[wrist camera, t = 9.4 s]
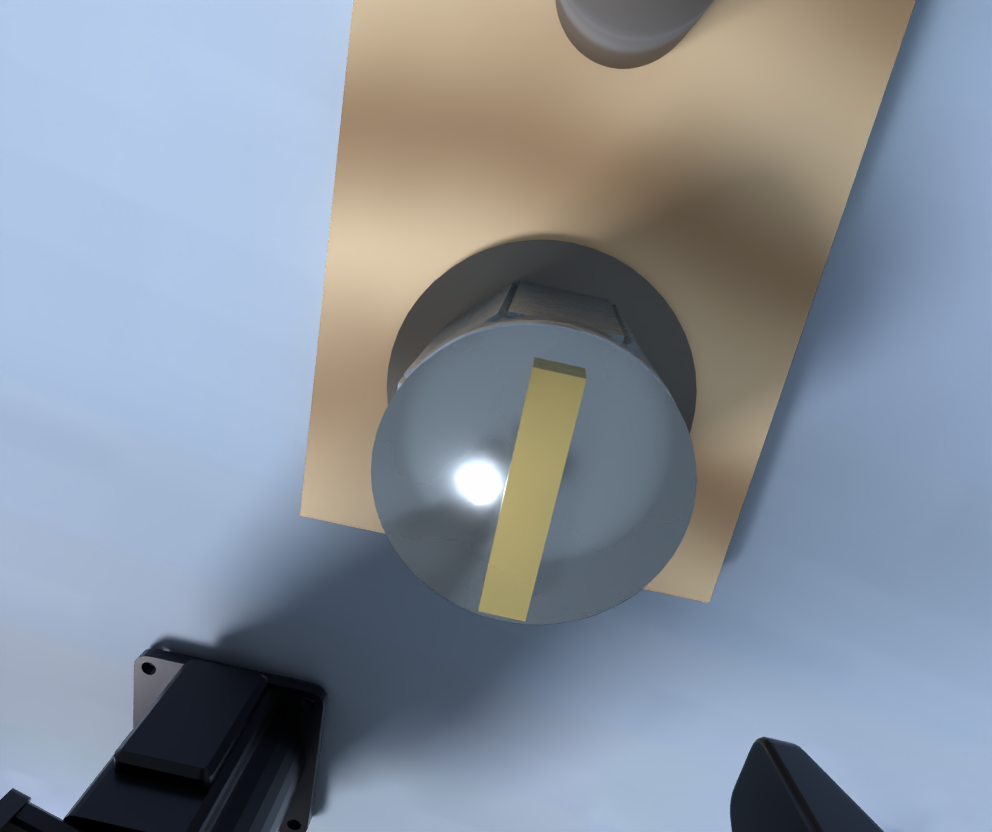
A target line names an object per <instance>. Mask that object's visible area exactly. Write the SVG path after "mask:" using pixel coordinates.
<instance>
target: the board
mask: <svg viewBox="0 0 992 832" xmlns="http://www.w3.org/2000/svg"><path fill="white" fill-rule="evenodd" d="M915 2H916V0H353V9H352V19H351V28H350V38H349V48H348V57H347V67H346V77H345V86H344V96H343V106H342V115H341V125H340V135H339V144H338V154H337V164H336V173H335V183H334V193H333V202H332V212H331V222H330V231H329V241H328V251H327V260H326V270H325V280H324V289H323V299H322V308H321V318H320V328H319V337H318V347H317V357H316V366H315V376H314V386H313V395H312V405H311V415H310V424H309V434H308V444H307V453H306V463H305V473H304V482H303V492H302V502H301V511H300V516H304V517H309V518H313V519H318V520H323V521H327V522H332V523H337V524H341V525H346V526H351V527H355V528H360V529H365V530H370V531H374V532H379V533H384V534H386V533H385V532H384V530H383V528H382V525H381V522H380V519H379V516H378V514H377V511H376V507H375V502H374V498H373V493H372V483H371V461H372V450H373V446H374V441H375V437H376V432H377V430H378V427H379V424H380V422H381V419H382V416H383V414H384V412H385V410H386V408H387V406H388V405H389V403H390V401H391V399H392V397H393V396H394V394H395V393H396V392H397V388H398V382H399V381H400V379H401V378H402V377H403V376H404V375H403V374H404V373H405V372H406V371H407V369H408V368H409V367H410V366H411V365H412V363H413V362H414V361H415V360H416V359H417V358H418V356H419V355H420V354H421V353H422V352H423V350H424V349H425V348H426V347H427V346H428V344H429V343H430V342H431V341H432V340H433V338H434V337H435V336H436V335H437V334H438V332H439V331H440V330H441V329H442V328H444V327H446V326H447V325H449V324H450V323H452V322H453V321H455V320H456V319H458V318H459V317H461V316H462V315H464V314H465V313H467V312H468V311H470V310H471V309H473V308H474V307H476V306H477V305H479V304H480V303H482V302H483V301H485V300H486V299H488V298H489V297H491V296H493V295H494V294H496V293H497V292H499V291H500V290H502V289H503V288H505V287H506V286H508V285H509V284H511V283H512V282H514V284H515V285H516V287H517V288H518V286H519V283H520V281H521V280H522V281H526V282H531V283H535V284H540V285H545V286H549V287H554V288H559V289H563V290H568V291H573V292H577V293H582V294H587V295H591V296H596V297H601V298H605V299H609V301H610V304H611V306H612V305H613V304H615V305H616V306H617V308H618V310H619V311H620V313H621V315H622V316H623V318H624V319H625V321H626V323H627V324H628V326H629V328H630V329H631V331H632V333H633V334H634V336H635V337H636V339H637V341H638V342H639V344H640V346H641V347H642V349H643V350H644V352H645V354H646V355H647V357H648V359H649V360H650V362H651V364H652V365H653V367H654V368H655V370H656V372H657V373H658V375H659V377H660V378H661V380H662V381H663V383H664V384H665V385H666V387H667V388H668V390H669V392H670V394H671V396H672V398H673V400H674V402H675V403H676V405H677V407H678V409H679V411H680V413H681V415H682V417H683V419H684V421H685V423H686V426H687V429H688V431H689V434H690V436H691V440H692V443H693V449H694V454H695V459H696V471H697V487H696V497H695V504H694V508H693V512H692V516H691V520H690V523H689V525H688V528H687V530H686V533H685V535H684V538H683V540H682V542H681V543H680V545H679V547H678V548H677V550H676V552H675V554H674V555H673V557H672V558H671V559H670V561H669V562H668V563H667V565H666V566H665V567H664V568H663V570H662V571H661V572H660V573H659V574H658V575H657V576H656V577H655V578H654V579H653V580H652V581H651V582H650V583H649V584H648V585H647V586H645V587H644V588H643V589H646V590H651V591H655V592H660V593H665V594H669V595H674V596H679V597H683V598H688V599H693V600H697V601H702V602H707V603H709V602H710V599H711V596H712V593H713V590H714V587H715V584H716V581H717V578H718V576H719V573H720V570H721V567H722V564H723V561H724V558H725V555H726V552H727V549H728V546H729V544H730V541H731V538H732V535H733V532H734V529H735V526H736V523H737V520H738V517H739V514H740V511H741V509H742V506H743V503H744V500H745V497H746V494H747V491H748V488H749V485H750V482H751V479H752V477H753V474H754V471H755V468H756V465H757V462H758V459H759V456H760V453H761V450H762V447H763V445H764V442H765V439H766V436H767V433H768V430H769V427H770V424H771V421H772V418H773V415H774V412H775V410H776V407H777V404H778V401H779V398H780V395H781V392H782V389H783V386H784V383H785V380H786V378H787V375H788V372H789V369H790V366H791V363H792V360H793V357H794V354H795V351H796V348H797V346H798V343H799V340H800V337H801V334H802V331H803V328H804V325H805V322H806V319H807V316H808V313H809V311H810V308H811V305H812V302H813V299H814V296H815V293H816V290H817V287H818V284H819V281H820V279H821V276H822V273H823V270H824V267H825V264H826V261H827V258H828V255H829V252H830V249H831V247H832V244H833V241H834V238H835V235H836V232H837V229H838V226H839V223H840V220H841V217H842V214H843V212H844V209H845V206H846V203H847V200H848V197H849V194H850V191H851V188H852V185H853V182H854V180H855V177H856V174H857V171H858V168H859V165H860V162H861V159H862V156H863V153H864V150H865V148H866V145H867V142H868V139H869V136H870V133H871V130H872V127H873V124H874V121H875V118H876V115H877V113H878V110H879V107H880V104H881V101H882V98H883V95H884V92H885V89H886V86H887V83H888V81H889V78H890V75H891V72H892V69H893V66H894V63H895V60H896V57H897V54H898V51H899V49H900V46H901V43H902V40H903V37H904V34H905V31H906V28H907V25H908V22H909V19H910V16H911V14H912V11H913V8H914V5H915Z"/></svg>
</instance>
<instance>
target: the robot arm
mask: <svg viewBox="0 0 992 832" xmlns="http://www.w3.org/2000/svg"><path fill="white" fill-rule="evenodd" d="M150 663H151V664H153V665H154V666H155V667H154V666H152V665H151V664H150ZM307 698H311V699H313V700H314V701H315V702H312V701H310V700H308V699H307ZM326 704H327V694H326V692H325V690H324V689H323V688H322V687H321V686H319V685H316V684H314V683H309V682H304V681H300V680H295V679H291V678H286V677H282V676H277V675H273V674H268V673H263V672H259V671H254V670H250V669H245V668H241V667H236V666H232V665H227V664H222V663H218V662H213V661H209V660H204V659H200V658H195V657H191V656H186V655H181V654H177V653H172V652H168V651H163V650H159V649H147V650H145V651H144V652H143V653H142V654H141V655H140V656H139V658H138V659H137V660H136V661H135V664H134V710H133V730H132V731H131V732H130V733H129V735H128V736H127V737H126V739H125V740H124V741H123V742H122V744H121V745H120V746H119V747H118V749H117V750H116V751H115V754H114V755H113V757H112V758H111V759H110V760H109V762H108V763H107V764H106V766H105V767H104V768H103V769H102V771H101V772H100V773H99V774H98V776H97V777H96V778H95V780H94V781H93V782H92V783H91V785H90V786H89V787H88V788H87V790H86V791H85V792H84V793H83V795H82V796H81V797H80V799H79V800H78V801H77V802H76V804H75V805H74V806H73V807H72V809H71V810H70V811H69V813H68V814H67V815H66V816H65V818H64V819H63V820H62V819H60V818H58V817H56V816H54V815H53V814H51V813H49V812H47V811H45V810H43V809H42V808H40V807H38V806H36V805H34V804H32V803H30V800H31V798H30V797H28V796H26V795H25V794H23V793H21V792H19V791H17V790H15V789H14V788H13V789H11V790H10V791H9V792H8V793H7V794H6V795H5V796H4V797H3V798H2V799H1V800H0V832H306V830H307V828H308V826H309V823H310V820H311V818H312V810H313V802H314V795H315V787H316V780H317V772H318V764H319V757H320V749H321V742H322V734H323V726H324V719H325V711H326ZM730 819H731V828H732V832H884V831H883V830H882V829H881V828H880V827H879V826H878V825H877V824H876V823H875V822H874V821H873V820H872V819H871V818H870V817H869V816H868V815H867V814H866V813H865V812H864V811H863V810H862V809H861V808H860V807H859V806H858V805H857V804H856V803H855V802H854V801H853V800H852V799H851V798H850V797H849V796H848V795H847V794H846V793H845V792H844V791H843V790H842V789H841V788H840V787H839V786H838V785H837V784H836V783H835V782H834V781H833V780H832V779H831V778H830V777H829V776H828V775H827V774H826V773H825V772H824V771H823V770H822V769H821V768H820V767H819V766H818V764H817V763H816V762H815V761H814V760H813V759H812V758H811V757H810V756H809V755H808V754H807V753H806V752H805V751H804V750H802V749H801V748H800V747H799V746H797V745H795V744H793V743H789V742H785V741H780V740H776V739H772V738H768V737H762V738H759V739H757V740H756V741H755V742H754V744H753V745H752V747H751V749H750V752H749V754H748V756H747V759H746V761H745V763H744V766H743V768H742V770H741V773H740V775H739V778H738V780H737V782H736V785H735V787H734V789H733V792H732V796H731V803H730Z"/></svg>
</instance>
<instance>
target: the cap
mask: <svg viewBox="0 0 992 832" xmlns="http://www.w3.org/2000/svg"><path fill="white" fill-rule="evenodd" d="M403 375H404V376H403V377H402V378H401V379H400V381H399V382H398V388H397V392H396V393H395V394H394V396H393V397H392V399H391V401H390V403H389V405H388V406H387V408H386V410H385V412H384V414H383V416H382V419H381V422H380V424H379V427H378V430H377V432H376V437H375V441H374V446H373V450H372V461H371V483H372V493H373V498H374V502H375V507H376V511H377V514H378V516H379V519H380V522H381V525H382V528H383V530H384V532H385V533H386V535H387V537H388V539H389V541H390V543H391V545H392V546H393V548H394V549H395V551H396V552H397V554H398V555H399V557H400V558H401V560H402V561H403V562H404V563H405V564H406V565H407V567H408V568H409V569H410V570H411V571H412V572H413V574H414V575H416V576H417V577H418V578H419V579H420V580H421V581H422V582H423V583H424V584H426V585H427V586H428V587H429V588H430V589H432V590H433V591H435V592H436V593H438V594H439V595H440V596H442V597H443V598H445V599H447V600H448V601H450V602H452V603H454V604H456V605H457V606H459V607H461V608H463V609H466V610H468V611H471V612H473V613H476V614H478V615H481V616H485V617H488V618H492V619H495V620H499V621H505V622H511V623H517V624H532V625H543V624H559V623H564V622H570V621H576V620H580V619H583V618H587V617H590V616H594V615H597V614H599V613H601V612H604V611H606V610H608V609H611V608H613V607H615V606H617V605H619V604H620V603H622V602H624V601H626V600H627V599H629V598H631V597H632V596H634V595H635V594H636V593H637V592H639V591H640V590H641V589H643V588H644V587H645V586H647V585H648V584H649V583H650V582H651V581H652V580H653V579H654V578H655V577H656V576H657V575H658V574H659V573H660V572H661V571H662V570H663V568H664V567H665V566H666V565H667V563H668V562H669V561H670V559H671V558H672V557H673V555H674V554H675V552H676V550H677V548H678V547H679V545H680V543H681V542H682V540H683V538H684V535H685V533H686V530H687V528H688V525H689V523H690V520H691V516H692V512H693V508H694V504H695V497H696V487H697V471H696V459H695V454H694V449H693V443H692V440H691V436H690V434H689V431H688V429H687V426H686V423H685V421H684V419H683V417H682V415H681V413H680V411H679V409H678V407H677V405H676V403H675V402H674V400H673V398H672V396H671V394H670V392H669V390H668V388H667V387H666V385H665V384H664V383H663V381H662V380H661V378H660V377H659V375H658V373H657V372H656V370H655V368H654V367H653V365H652V364H651V362H650V360H649V359H648V357H647V355H646V354H645V352H644V350H643V349H642V347H641V346H640V344H639V342H638V341H637V339H636V337H635V336H634V334H633V333H632V331H631V329H630V328H629V326H628V324H627V323H626V321H625V319H624V318H623V316H622V315H621V313H620V311H619V310H618V308H617V306H616V305H615V304H613V305H612V306H611V304H610V301H609V299H605V298H601V297H596V296H591V295H587V294H582V293H577V292H573V291H568V290H563V289H559V288H554V287H549V286H545V285H540V284H535V283H531V282H526V281H522V280H521V281H520V283H519V286H518V288H517V287H516V285H515V284H514V282H512V283H511V284H509V285H508V286H506V287H505V288H503V289H502V290H500V291H499V292H497V293H496V294H494V295H493V296H491V297H489V298H488V299H486V300H485V301H483V302H482V303H480V304H479V305H477V306H476V307H474V308H473V309H471V310H470V311H468V312H467V313H465V314H464V315H462V316H461V317H459V318H458V319H456V320H455V321H453V322H452V323H450V324H449V325H447V326H446V327H444V328H442V329H441V330H440V331H439V332H438V334H437V335H436V336H435V337H434V338H433V340H432V341H431V342H430V343H429V344H428V346H427V347H426V348H425V349H424V350H423V352H422V353H421V354H420V355H419V356H418V358H417V359H416V360H415V361H414V362H413V363H412V365H411V366H410V367H409V368H408V369H407V371H406V372H405V373H404V374H403Z"/></svg>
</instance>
